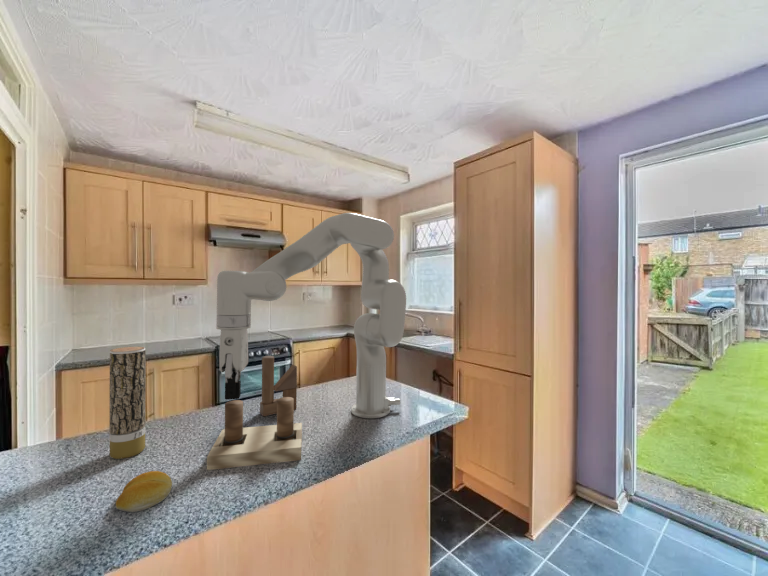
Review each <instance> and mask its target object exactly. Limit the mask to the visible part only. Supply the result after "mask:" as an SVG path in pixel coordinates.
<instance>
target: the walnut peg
mask: <svg viewBox="0 0 768 576" xmlns="http://www.w3.org/2000/svg"><path fill="white" fill-rule="evenodd" d="M243 428H244V401H243V400H240V399H232V400H230V401H227V402H225V403H224V429H225V439H224V442H225V446H230V445H241V444H243Z"/></svg>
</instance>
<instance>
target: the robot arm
mask: <svg viewBox="0 0 768 576" xmlns="http://www.w3.org/2000/svg"><path fill="white" fill-rule="evenodd" d="M394 238H395V233H394V229H393V228H392V226H391V225H390V224H389V223H388V222H387V221H384V220H382V219H378V218H374V217H370V216H366V215H363V214H358V213H352V212H343V213H339V214H337V215H332V216H330V217H328V218H326V219H324V220H323V221H322V222H320V223H319V224H317V225H316V226H315V227H314V228H312V229H311V230H310V231H308V232H307V233H306V234H304V235H303V236H302V237H300V238H299V239H298V240H296V241H295V242H293V243H292V244H290V245H288V246H287V247H285V248H284V249H282V250H281V251H280V252H278V253H276V254H275V255H273V256H272V257H270V258H269V259H267V260H266V261H264V262H263V263H262V264H260V265H259V266H258V267H256V268H255V269H253V270H252V271H251V272H248V271H243V270H222V271H219V272H218V274H217V278H216V279H217V280H216V281H217V282H216V326H215V327H216V329H217V330H220V337H219V352H218V353H219V355H218V357H219V371H220V372H221V373H224V379H225V380H224V399H225V400H227V401H228V400H240V399H239V398H240V397H241V391H242V388H241V385H242V383H241V373H242V372H243V371H244V370H245V368H247V366H248V364H249V338H248V337H249V335H248V329H251V327H252V326H251V325H252V324H251V323H252V321H251V320H252V318H251V317H252V300H256V301H265V302H273V301H277V300H278V299H280V298H282V297H283V296H284V295H285V294H286V291H287V282H286V280H288V279H289V278H291V277H293V276H295V275H297V274H300V273H303V272H307V271H308V270H311V269H313V268H315V267H316V266H317V265H319V264H320V263H321V262H322V261H324V260H325V259H326V258H327V257H328V256H329V255H330V254H332V253H333V252H334V251H335V250H337V249H338V248H340V247H341V246H342V245H349V244H350V246H351V247H352V249H353V251H355V252H356V253H357V254H358V256H359V257H360V259H361V263H362V280H361V292H360V301H361V303H362V305H363V306H364V307H365V308H367V309H370V310H371V309H372V310H377V311H379V313H373V312H372V313H371V312H370V313H369V312H367V313H363V314H361V315H359V317H357V319H356V320H355V321H354V325H353V334H354V340H355V347H356V348H355V349H356V350H355V351H356V371H355V372H356V375H355V376H356V379H355V380H356V387H355V388H356V389H355V390H356V392H355V394H356V398H355V403H354V404H353V405H352V406H351V414H352V415H354V416H355V417H358V418H363V419H379V418H383V417H387V416H388V415H390V412H391V406H399V405H401V399H400V398H395V397H394V396H392V397H388V396H387V395H386V394H387V393H386V391H387V387H386V386H387V353H386V350H385V347H387V348H392V347H395V346H397V345H398V344H399V343H401V341H402V338H403V336H404V332H405V325H406V324H405V322H406V310H407V308H406V307H407V295H406V294H407V293H406V290H405V288H404V286H403V285H402V284H401V282H399V281H397V280H395V279H390V278H389V277H390V276H389V275H390V264H389V260H388V257H387V254H386V253H385V251H384V250H385V249H388V248H389V247H390V246H391V245H392V244H393V242H394Z"/></svg>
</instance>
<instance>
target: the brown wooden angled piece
mask: <svg viewBox="0 0 768 576" xmlns="http://www.w3.org/2000/svg"><path fill="white" fill-rule="evenodd" d="M297 372H298V366H296V365H295V364H292V365H291V366H290V367H289V368H287V370H286V371H285V373H284V374H283V375H282V376H281V377H280V378H279V380H277V382H276V383H275V356H274V355H265V356H262V358H261V401H260V403H259V413H260V415H261V416H262V417H267V416H271V415H277V400H278V399H279V398H276V399H275V396H274V395H275V392H280V391H282V397H292V398H294V411H295V410H297V383H298V382H297V379H298V378H297V377H298V376H297V375H298V373H297Z"/></svg>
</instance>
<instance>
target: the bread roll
mask: <svg viewBox="0 0 768 576" xmlns="http://www.w3.org/2000/svg"><path fill="white" fill-rule="evenodd" d="M172 488H173V481H172V478H171V476H170V475H168V474H167V473H165V472H163V471H160V470H152V471H146V472H145V471H144V472H142V473H140V474H138V475H136V476H135V477H133V478H132V479H131V480H130V481H129V482H127V483H126V485H124V488H123V489H122V493H120V495H118V497H117V499H116V501H115V507H116V509H117V510H119V511H122V512H127V513H136V512H137V513H138V512H141V511H144V510H147V509H150V508H152V507H155V505H158V504H159V502H160V503H162V502H163V501H164V500H165V499H167V497H168V496H169V494H170V492H171V490H172Z"/></svg>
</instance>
